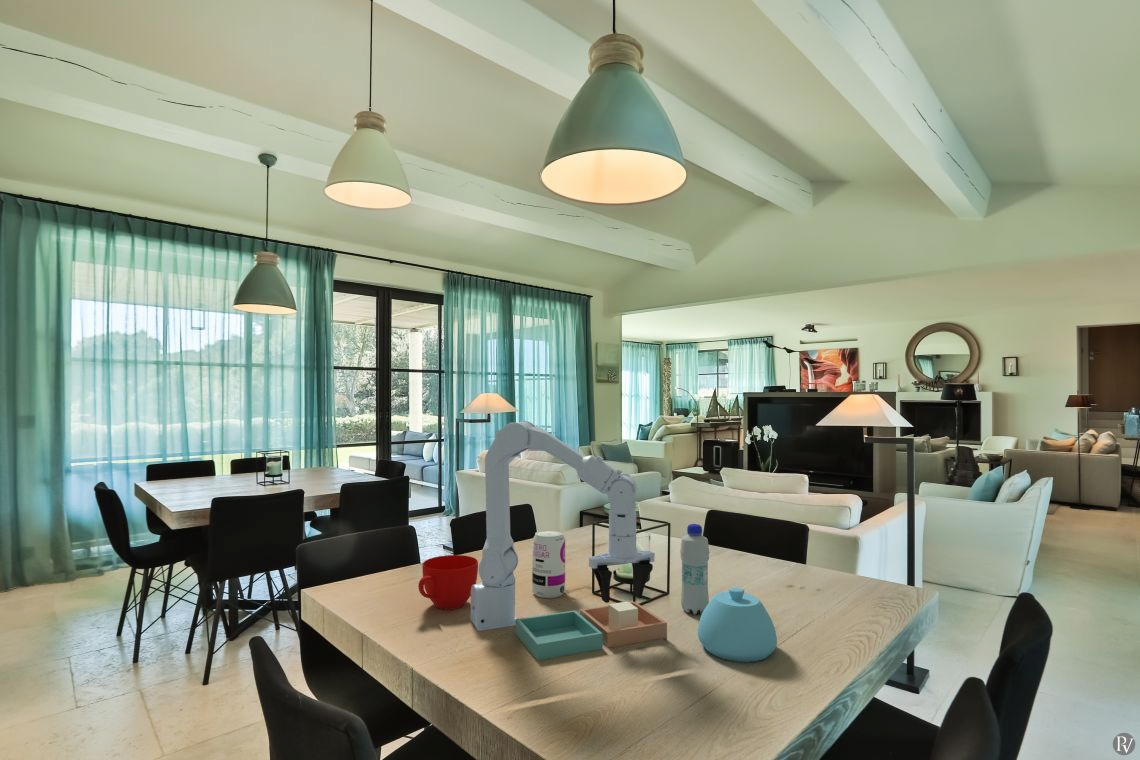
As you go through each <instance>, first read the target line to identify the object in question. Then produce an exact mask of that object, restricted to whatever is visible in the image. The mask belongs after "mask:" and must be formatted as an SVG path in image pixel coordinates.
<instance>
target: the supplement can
mask: <svg viewBox="0 0 1140 760" xmlns="http://www.w3.org/2000/svg"><path fill="white" fill-rule="evenodd" d="M531 568H532V571H531V574H532V578H531V579H532V580H531V581H532V582H531V583H532V585H531V586H532V588H531V592H532V593H533V594H534V596H536V597H538V598H543V599H555V598H558V597H559V598H560V597H561V596H562V595H563V594H564V593H565V592H566V537H565V536H564V533H563V532H562V531H560V530H553V529H549V530H548V529H546V530H538V531H536V532H535V534H534V536H533V538H532V567H531Z"/></svg>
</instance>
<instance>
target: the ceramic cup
mask: <svg viewBox="0 0 1140 760" xmlns="http://www.w3.org/2000/svg"><path fill="white" fill-rule="evenodd" d="M478 569H479V560H478V559H477V558H476V557H473V556H471V555H470V556H469V555H462V554H454V555H453V554H449V555H448V554H447V555H440V556H435V557H431V558H428V559H426V560H424V561H423V562H422V577H421V578H420V579H419V582H418V592H419V594H420V595H421V596H422V597H424V598H426V599H430V601H431V602H432V604H434V605H435V607H436V608H438V609H440V610H455V609H459V608H462V607H463V606H465V604H466V603H467V601H468V600H469V599H470V598H471V587H472V585H474V584H477V580H478V574H479V570H478Z"/></svg>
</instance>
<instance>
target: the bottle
mask: <svg viewBox="0 0 1140 760" xmlns="http://www.w3.org/2000/svg"><path fill="white" fill-rule="evenodd" d="M686 528H687V529H686V530H687V531H686V532H687V533H686V535H683V536H682V537H681V542H680V548H679V551H680V556H679V557H680V559H681V591H680V605H681V608H682V610H683V611H685V613H686V614H690V613H691V611H692V614H693V615H697V613H698V611H699V614H700V615H702V613H703V611H704V609H705V608H706V606H707V605H708V603H709V602H710V601H709V597H710V596H709V595H710V594H709V580H708V579H709V578H708V577H709V575H708V574H709V573H708V572H709V571H708V567H709V565H708V564H709V563H708V562H709V560H710V548H709V540H708V538H707V537H705V536H704V535H703V528H702V525H701V524H697V523H690V524H688V525H687V527H686Z"/></svg>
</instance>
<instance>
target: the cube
mask: <svg viewBox="0 0 1140 760" xmlns="http://www.w3.org/2000/svg"><path fill="white" fill-rule="evenodd" d="M608 605H609V629H610V630H617V629H623V628H629V627H635V626H638V608H637V607H635V606H634V605H632V604H631V603H629V601H621V602H616V603H608Z"/></svg>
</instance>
